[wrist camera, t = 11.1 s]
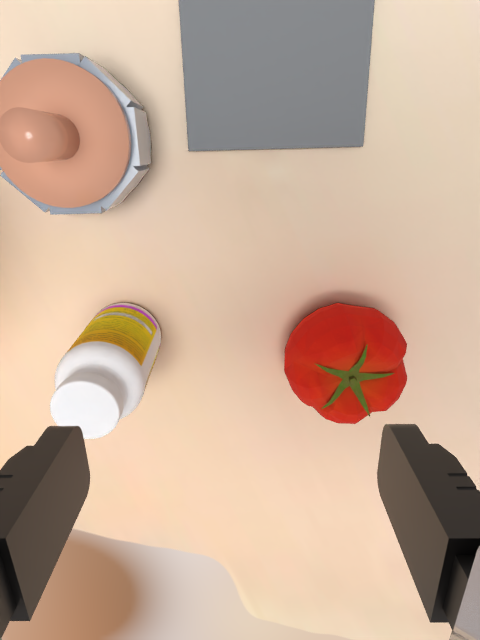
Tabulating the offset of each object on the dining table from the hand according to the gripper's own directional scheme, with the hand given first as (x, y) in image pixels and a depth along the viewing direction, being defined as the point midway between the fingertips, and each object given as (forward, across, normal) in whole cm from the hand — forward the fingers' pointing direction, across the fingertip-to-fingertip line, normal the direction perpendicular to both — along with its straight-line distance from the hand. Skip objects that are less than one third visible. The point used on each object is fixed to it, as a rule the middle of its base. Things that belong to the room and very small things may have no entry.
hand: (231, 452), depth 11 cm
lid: (+22, +12, -8) cm, 27 cm away
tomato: (+29, -9, +10) cm, 32 cm away
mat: (+28, -3, -15) cm, 32 cm away
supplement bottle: (+28, +11, +8) cm, 31 cm away
